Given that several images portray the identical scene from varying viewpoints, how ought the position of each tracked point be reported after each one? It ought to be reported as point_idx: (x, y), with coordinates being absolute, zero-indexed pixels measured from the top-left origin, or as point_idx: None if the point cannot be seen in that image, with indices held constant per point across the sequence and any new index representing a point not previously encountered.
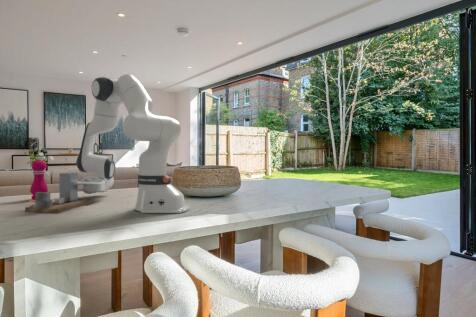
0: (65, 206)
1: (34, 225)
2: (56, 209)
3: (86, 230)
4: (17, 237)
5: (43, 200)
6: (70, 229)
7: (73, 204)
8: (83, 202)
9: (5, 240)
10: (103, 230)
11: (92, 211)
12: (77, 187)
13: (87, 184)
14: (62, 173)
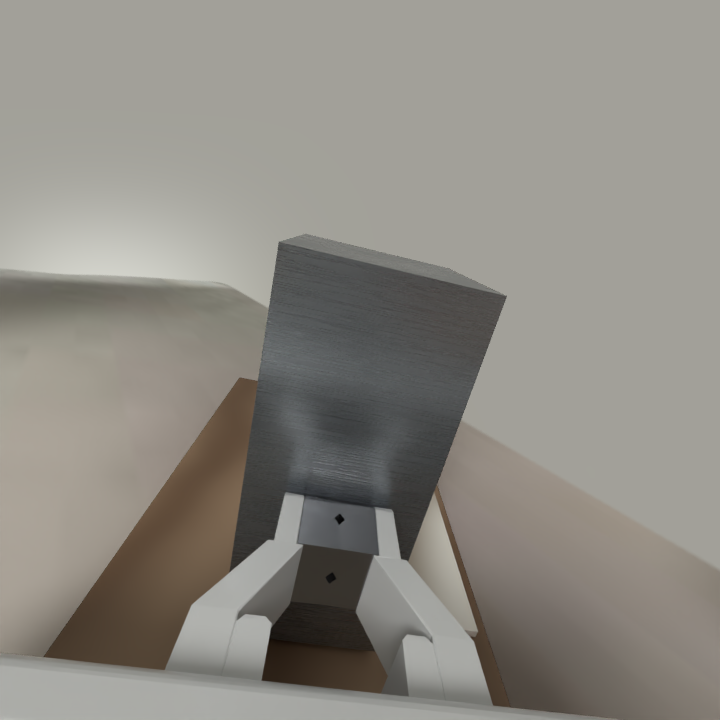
0: (230, 414)
1: (235, 320)
2: (249, 381)
3: (83, 282)
4: (224, 291)
5: None
6: (128, 292)
7: (198, 457)
8: (120, 551)
9: (235, 289)
10: (34, 274)
11: (39, 403)
12: (242, 489)
13: (22, 667)
14: (412, 260)
